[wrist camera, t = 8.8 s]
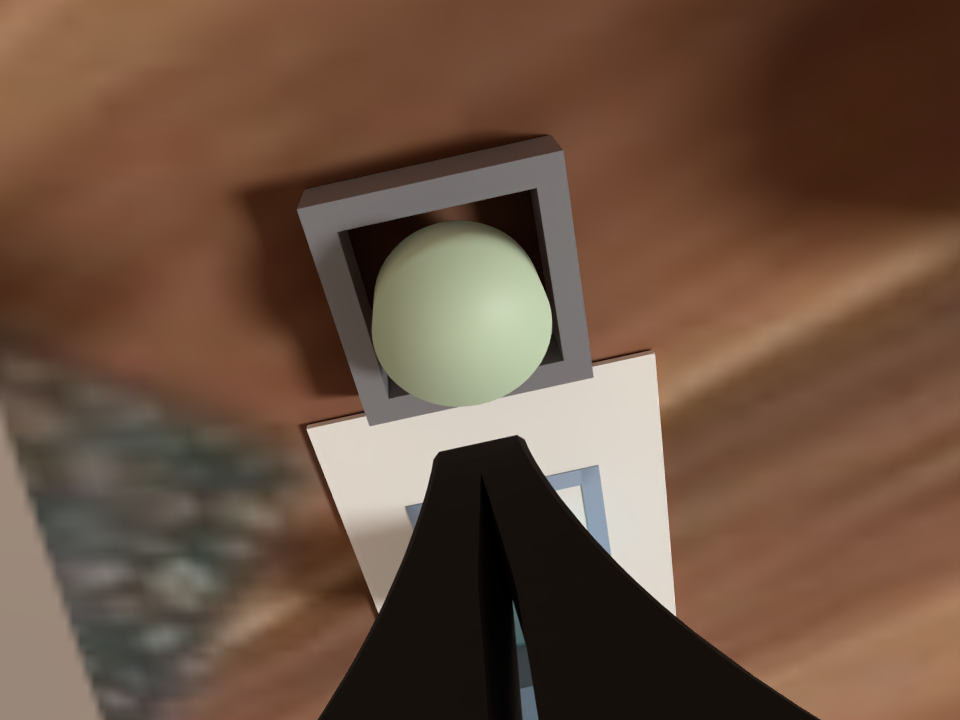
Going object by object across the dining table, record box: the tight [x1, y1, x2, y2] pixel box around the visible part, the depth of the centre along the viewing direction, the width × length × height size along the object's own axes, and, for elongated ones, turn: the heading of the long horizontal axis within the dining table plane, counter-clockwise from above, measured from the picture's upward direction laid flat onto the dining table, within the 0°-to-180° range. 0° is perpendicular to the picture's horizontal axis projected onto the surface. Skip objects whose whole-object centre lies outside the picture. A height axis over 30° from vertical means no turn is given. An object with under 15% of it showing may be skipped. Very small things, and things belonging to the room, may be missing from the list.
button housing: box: [297, 135, 594, 426], centre depth 18 cm, size 6×6×2 cm
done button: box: [372, 220, 552, 407], centre depth 17 cm, size 4×4×2 cm
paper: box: [307, 350, 676, 616], centre depth 24 cm, size 13×10×1 cm
